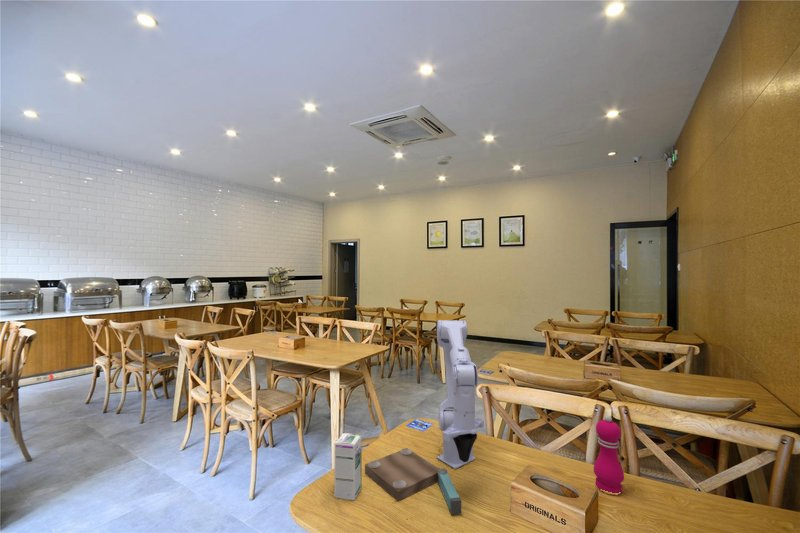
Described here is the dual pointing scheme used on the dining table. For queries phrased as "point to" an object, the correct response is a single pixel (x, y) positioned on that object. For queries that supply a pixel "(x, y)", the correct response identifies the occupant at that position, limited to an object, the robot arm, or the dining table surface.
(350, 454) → the syrup box
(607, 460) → the pepper mill
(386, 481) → the stool seat
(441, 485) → the stool leg
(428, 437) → the dining table surface
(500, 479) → the dining table surface
